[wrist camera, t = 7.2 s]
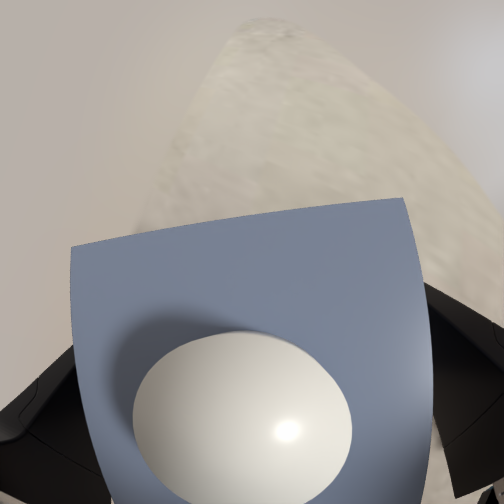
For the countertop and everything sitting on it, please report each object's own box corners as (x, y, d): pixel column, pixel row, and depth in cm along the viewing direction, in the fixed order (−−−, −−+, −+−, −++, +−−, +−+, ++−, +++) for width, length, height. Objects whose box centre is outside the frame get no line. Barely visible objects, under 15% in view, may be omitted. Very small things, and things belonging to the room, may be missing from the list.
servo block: (317, 373, 15) (439, 527, 1) (233, 383, 15) (103, 543, 2) (307, 290, 16) (427, 170, 3) (223, 302, 16) (38, 232, 3)
